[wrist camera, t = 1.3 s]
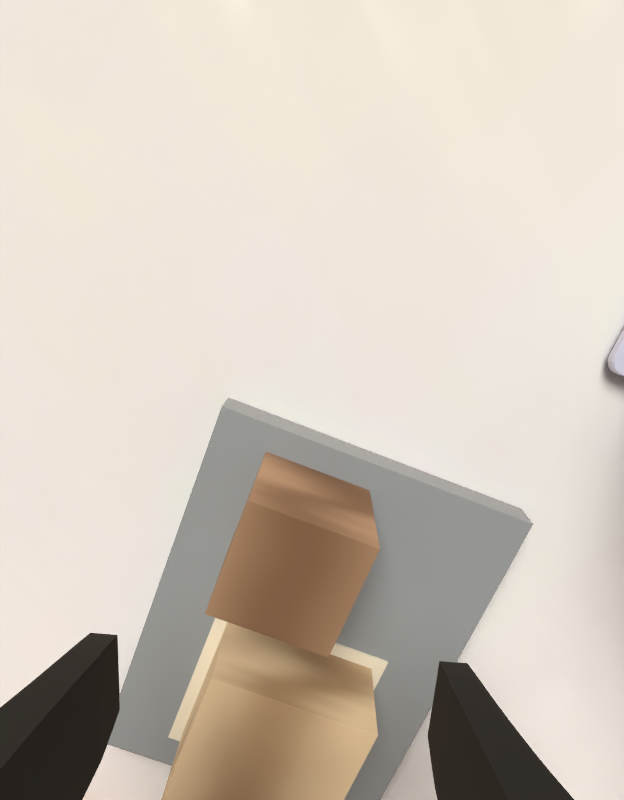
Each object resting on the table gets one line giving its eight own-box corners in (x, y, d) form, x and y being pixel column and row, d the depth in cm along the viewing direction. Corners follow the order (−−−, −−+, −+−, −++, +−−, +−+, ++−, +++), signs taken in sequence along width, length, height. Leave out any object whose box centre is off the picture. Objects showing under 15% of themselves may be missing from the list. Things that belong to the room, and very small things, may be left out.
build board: (521, 508, 20) (534, 525, 19) (361, 801, 24) (363, 831, 23) (228, 397, 19) (221, 407, 18) (114, 718, 23) (101, 744, 22)
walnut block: (369, 490, 19) (379, 549, 15) (328, 580, 20) (328, 657, 16) (265, 451, 18) (248, 500, 14) (230, 544, 19) (204, 614, 15)
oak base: (371, 668, 20) (377, 735, 18) (316, 777, 22) (314, 855, 19) (228, 618, 20) (211, 678, 17) (182, 732, 22) (159, 805, 19)
